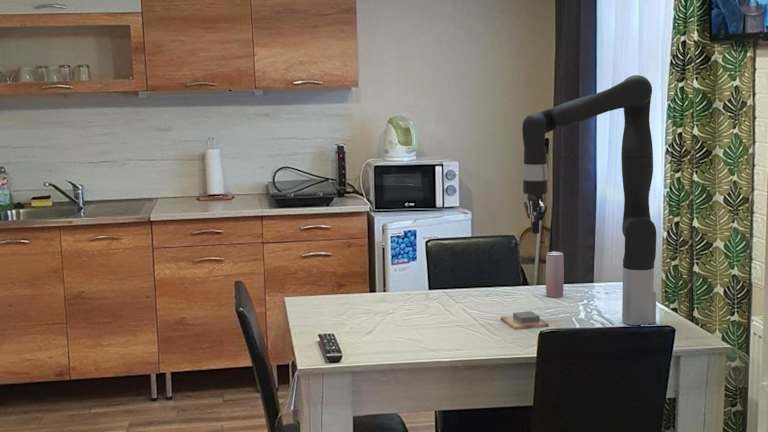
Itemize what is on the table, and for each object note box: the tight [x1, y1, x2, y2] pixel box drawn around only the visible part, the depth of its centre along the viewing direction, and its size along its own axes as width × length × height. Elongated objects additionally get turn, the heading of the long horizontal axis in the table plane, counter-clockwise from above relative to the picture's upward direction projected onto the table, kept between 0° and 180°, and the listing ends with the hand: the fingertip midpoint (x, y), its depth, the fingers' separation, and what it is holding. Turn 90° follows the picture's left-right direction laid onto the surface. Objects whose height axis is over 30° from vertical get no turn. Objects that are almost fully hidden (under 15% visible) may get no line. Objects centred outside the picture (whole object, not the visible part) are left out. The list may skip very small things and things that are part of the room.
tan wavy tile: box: [500, 315, 550, 330], centre depth 293 cm, size 11×12×1 cm
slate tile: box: [512, 310, 541, 326], centre depth 291 cm, size 6×2×7 cm
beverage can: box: [545, 251, 565, 298], centre depth 327 cm, size 6×6×15 cm
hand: (535, 233), depth 296 cm, fingers closed
